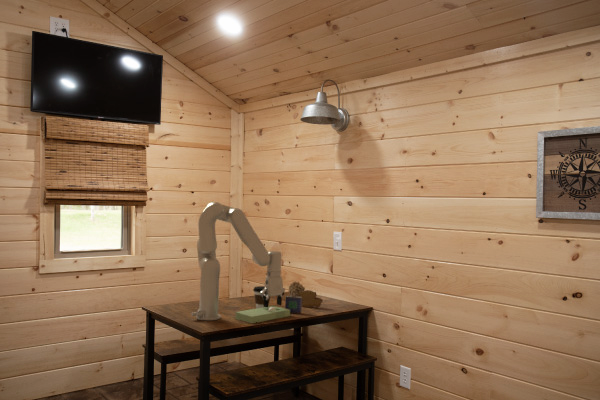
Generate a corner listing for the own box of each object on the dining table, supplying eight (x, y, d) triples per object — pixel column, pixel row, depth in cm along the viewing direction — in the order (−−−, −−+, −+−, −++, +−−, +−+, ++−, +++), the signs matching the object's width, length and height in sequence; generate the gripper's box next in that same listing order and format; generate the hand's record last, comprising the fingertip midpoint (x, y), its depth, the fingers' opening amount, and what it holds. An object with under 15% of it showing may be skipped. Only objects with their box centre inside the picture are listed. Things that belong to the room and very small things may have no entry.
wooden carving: (323, 307, 296) (323, 290, 296) (321, 309, 292) (322, 291, 292) (296, 305, 300) (296, 288, 300) (294, 306, 296) (294, 289, 296)
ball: (272, 317, 268) (271, 309, 267) (266, 316, 271) (265, 307, 271) (278, 314, 271) (277, 306, 271) (272, 313, 274) (272, 305, 274)
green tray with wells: (251, 323, 252) (251, 316, 252) (235, 318, 261) (235, 312, 261) (289, 315, 271) (290, 309, 271) (273, 311, 280) (273, 305, 281)
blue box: (301, 312, 280) (302, 293, 280) (300, 314, 277) (301, 294, 277) (285, 311, 282) (286, 292, 282) (284, 312, 279) (285, 293, 279)
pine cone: (283, 295, 328) (284, 280, 329) (296, 294, 334) (296, 279, 334) (303, 302, 310) (303, 285, 310) (315, 300, 316) (316, 284, 316)
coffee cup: (268, 311, 281) (269, 289, 281) (250, 310, 283) (250, 288, 283) (273, 307, 291) (274, 286, 291) (255, 306, 294) (256, 285, 294)
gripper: (266, 276, 262) (265, 309, 262) (290, 273, 275) (288, 305, 275) (257, 274, 268) (255, 306, 267) (280, 272, 280) (279, 302, 280)
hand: (272, 305), depth 271 cm, fingers open, 9 cm apart
